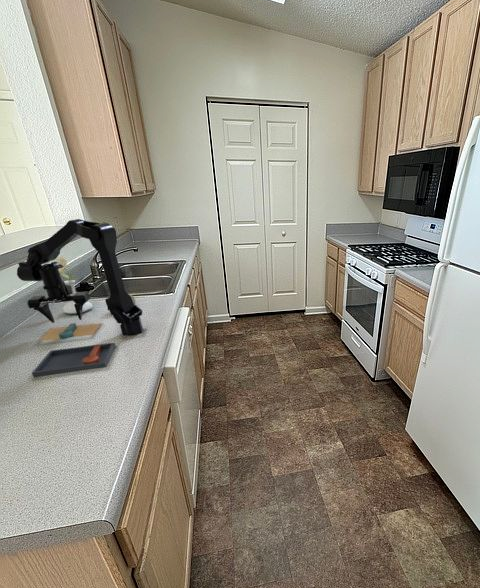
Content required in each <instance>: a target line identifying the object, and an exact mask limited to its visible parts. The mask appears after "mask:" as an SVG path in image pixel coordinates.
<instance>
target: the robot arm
mask: <svg viewBox="0 0 480 588" xmlns="http://www.w3.org/2000/svg"><path fill="white" fill-rule="evenodd" d="M78 236H80V237H81V238H83V239H86V240H89V242H90V244H91V246H92V247H93V248H94V249H95V251H96V252H97V253H98V255H99V258H100V262H101V266H102V269H103V273H104V276H105V280H106V282H107V287H108V290H109V294H110V295H109V297H106V298H105V299H104V300H105V304H106V307H107V311H109V314H110V315H111V316H112V317H113V318H114V320H115V321H116V323H117V324H120V325H119V328H120V330H121V335H122V336H128V337H132V336H137V335H140V334H143V332H144V327H143V323H142V320H141V316H143V309H142V308H140V307H139V306H138V305H137V304H136V305H135V304H134V303H133V301H132V298H131V296H130V295H131V294H129V293H128V292H127V291H126V288H125V284H124V281H123V277H122V273H121V268H120V265H119V261H118V257H117V253H116V247H117V244H118V239H117V238H118V237H117V231H116V228H115V227H114V226H113V225H111V224H110V223H108V222H102V223H100V222H95V221H89V220H84V219H81V218H76V219H75V218H74V219H70V220H67V222H66V224H64V225H63V226H62V227H61V228H59V229H58V231H56V232H55V233H53V234H52V236H50V237H49V238H47V239H46V240H45V241H43V242H40V243H38V244H35V245H33V246H31V247H29V248H28V250H27V254H28V255H27V258H26V261H20V262H18V263H17V264H18V267H17V269H16V276H17V278H18V279H19V280H21V281H23V282H41V281H42V283H43V286H42V288H43V290H45V291H46V294H47V297H46V296H45V295H35V296H32V297H30V298H29V299H27V301H26V305H27V307H28V309H33V311H37V312H39V313H40V314H42V315H43V316H44V317H45V318H46V319H48V321H50V323H52V324H54V323H56V322H55V318H54V315H53V314H52V311H51V309H50V305H49V304H56V303H66V302H69V301H74V302H75V304H74V306H75V309H76V312H77V313H76V315H77V317H78V320H80V321H82V318H83V312H82V308H83V305H84V304H85V303H86V302H87V301H88V302H89V300H90V299H91V296H90V293H89V292H88V291H77V292H76V293H75V294H74V295H73V296H70V294H73V293H72V288H71V286H70V285H66V284H65V282H64V281H65V280H63V279H62V274H61V275H60V273H59V270H58V269H59V268H62V267H63V265H61V264H59V263H57V262H56V259H57V258H58V257H59V255H60V254H61V250H62V249H63V248H64V247H65V246H66V245H68V244H69V243H70V242H72V240H75V238H77V237H78ZM54 261H55V262H54ZM50 262H51V263H50Z"/></svg>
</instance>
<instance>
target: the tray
mask: <svg viewBox="0 0 480 588" xmlns="http://www.w3.org/2000/svg"><path fill="white" fill-rule="evenodd" d="M94 346H101V349H102V352H101V353H100V355H99V360H100V362H99V363H92V364H83V361H82V360H83V359H84V358H86V357H88V356H89V355H90V353H91V351H92V350H93V348H94ZM116 347H117V345H116V342H108V343H101V344H93V345H92V344H91V345H85V346H77V347H69V348H61V349H60V348H59V349H54V350H53V349H52V350H50V351H49V352H48V353H47V354H46V355H45V357H44V358H42V360H41V361H40V362H39V363H38V365H37V366H36V367H35V368H34V369H33V371H32V372H31V375H32V377H33V378H39V377H46V376H52V375H59V374H67V373H74V372H80V371H88V370H95V369H103V368H106V367H107V366H108V364H109V362H110V359H111V358H112V356H113V353H114V352H115V350H116Z"/></svg>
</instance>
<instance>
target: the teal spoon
mask: <svg viewBox="0 0 480 588" xmlns="http://www.w3.org/2000/svg"><path fill="white" fill-rule="evenodd" d="M77 326H78V325H77V323H75V322H73V323H72V322H71V323H69V325H68V326H66V327H67V328H66V329H65V330H64V331H63V332H60V333H59V334H58V335H59V337H60V339H59V340H66V339H71V338H74V337H73V336H74V335H73V332H74V331H75V329H76V328H77Z"/></svg>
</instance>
